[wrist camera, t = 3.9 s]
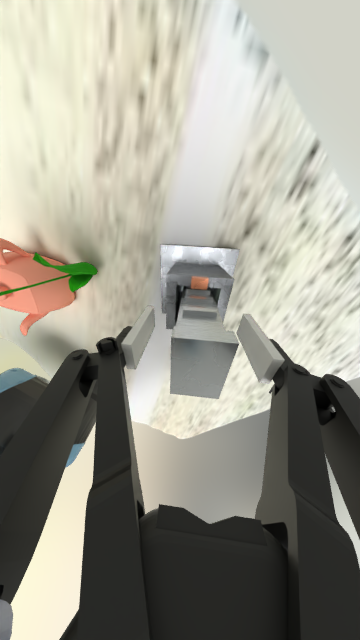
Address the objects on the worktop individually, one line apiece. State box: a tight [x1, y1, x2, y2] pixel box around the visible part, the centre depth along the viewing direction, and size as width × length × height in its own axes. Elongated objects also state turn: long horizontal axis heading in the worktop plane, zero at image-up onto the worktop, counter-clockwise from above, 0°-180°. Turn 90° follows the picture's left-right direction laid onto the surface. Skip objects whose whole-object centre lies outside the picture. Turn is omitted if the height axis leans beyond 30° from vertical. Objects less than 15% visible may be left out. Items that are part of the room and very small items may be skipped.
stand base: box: [161, 244, 240, 329], centre depth 23 cm, size 14×14×12 cm
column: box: [170, 286, 239, 399], centre depth 18 cm, size 4×6×21 cm
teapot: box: [0, 238, 75, 336], centre depth 27 cm, size 11×18×10 cm, turn 167°
